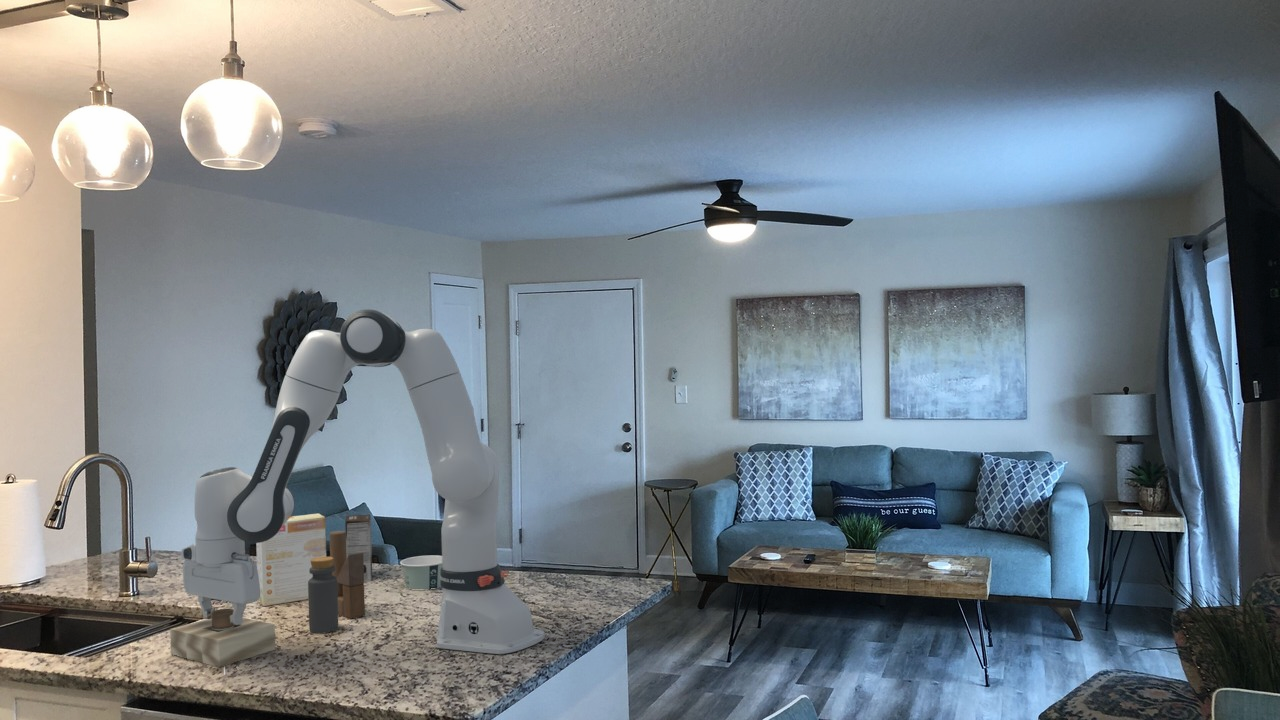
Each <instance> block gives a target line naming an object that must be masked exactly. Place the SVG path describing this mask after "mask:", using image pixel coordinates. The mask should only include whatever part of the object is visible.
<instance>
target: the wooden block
mask: <svg viewBox="0 0 1280 720" xmlns="http://www.w3.org/2000/svg"><path fill="white" fill-rule="evenodd" d="M329 553H330V554H329V557H333V558H334V559H333V565H334V566H335V571H334V572H332V575H333V576H335V577H336V578H337V594H338V615H339V616H342V615H343V616H342V617H345V618H347V619H350V620H352V618H353V619H356V617H357V618H361V616H362V617H365V616H364V615H366V608H365V607H366V604H365V603H366V601H365V585H364V584H365V582H364V561H363V553H357V554H352V555H348V557H347V555H346V532H345V531H344V530H334V531H330V533H329Z"/></svg>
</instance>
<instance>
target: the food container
mask: <svg viewBox="0 0 1280 720" xmlns="http://www.w3.org/2000/svg"><path fill="white" fill-rule="evenodd" d="M399 564H400V565H401V567H402V571H403V572H402V573H403V577H404V581H405V583H404V584H405V586H406V589H407V588H410V589H431V588H437V587H440V588H442V587H441V584H440V569H441V568H442V555H437V554H436V555H418V556H412V557H411V556H410V557H407V558H405V559H402V560H400V562H399ZM437 589H438V588H437Z"/></svg>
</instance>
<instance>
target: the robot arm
mask: <svg viewBox="0 0 1280 720" xmlns="http://www.w3.org/2000/svg"><path fill="white" fill-rule="evenodd" d="M341 325H342V326H341V328H340V332H335V331H332V330H327V329H316V330H312V331H310V332H308V333H307V334H306V335H305V337H304V338H303V339H302V341H301V342H300V344H299V346H298V347H297V349H296V351H295V353H294V355H293V356H292V358H291V361H290V363H289V366H288V367H287V370H286V372H285V375H284V377H283V381H282V384H281V387H280V389H279V394H278V398H277V402H276V407H275V412H274V414H273V415H274V416H273V419H272V425H271V429H270V433H269V436H268V437H267V440H266V443H265V445H264V448H263V450H262V453H261V455H260V457H259V460H258V461H257V465H256V468H255V470H254V472H253V475H249V474H247V473H246V472H244V471H242V470H241V469H240V468H238V467H235V466H231V467H223V468H219V469H215V470H211V471H207V472H206V473H203V474H202V475H201V476H199V478H198V479H197V481H196V484H195V491H194V518H195V521H196V525H197V526H196V527H197V528H196V532H195V535H194V536H195V539H194V540H195V541H194V543H193V544H191V545H187V546H185V547H183V548H182V549H181V553H180V556H181V559H183V560H184V561H183V564H182V579H183V581H182V582H183V588H184V591H185V593H186V594H187V595H192V596H197V597H198V602H199V603H198V604H199V606H200V607H201V610H202V618H203V619H204V620H207V619H212V612H213V611H216V608H213V603H212V600H217V601H223V602H229V603H232V605H231V606H232V607H231V608H232V609H233V610H234V611H233V615H230V623H231V624H233V625H239V624H241V623H242V622H243V618H244V617H243V615H244V613H245V610H246V607H247V605H248V604H252V603H256V602H259V601H258V599H259V597H260V583H259V576H258V570H257V564H255V561H254V560H253V559H252V558H251V556H250V555H249V554H246V549H245V548H246V547H245V546H246V543H245V542H247V543H251V544H256V543H260V542H264V541H267V540H269V539H271V538H272V537H274V536H275V535H276V534H277V533H278V531H279V530H280V528H281V527H282V526H283V525H284V524H285V523H286V522H287V520H288V519H289V518H290V517H292V516H293V513H294V510H295V499H294V496H293V494H292V492H291V490H290V489H289V488H288V487H287V485H288V483H289V480H290V478H291V476H292V472H293V471H294V468H295V465H296V464H297V463H296V462H297V460H298V457H299V455H300V453H301V451H302V450H303V448H304V446H305V445H306V443H307V442H308V441H309V440H310V439H311V438H312V436H313V435H314V434H315V433H316V432H317V431H318V430H319V429H321V427H323V425H324V424H325V423H326V422H327V420H328V418H329V417H330V415H331V414H332V412H333V410H334V408H335V407H336V404H337V403H338V399H339V397H340V395H341V391H342V388H343V386H344V383H345V381H346V379H347V376H348V374H349V373H350V371H351V370H352V369H354V368H355V367H371V368H382V367H383V368H384V367H387V366H390V365H393V366H395V367H396V368H397V369H398V371H399V372H400V374H401V376H402V378H403V381H404V383H405V384H404V385H405V386H406V389H407V393H408V394H409V397H410V400H411V403H412V405H413V408H414V411H415V414H416V417H417V420H418V423H419V425H420V428H421V432H422V436H423V442H424V445H425V450H426V455H427V460H428V463H429V467H430V471H431V480H432V484H433V487H434V490H435V491H436V493H437V494H438V495H439V496H440V497H442V498H443V499H445V500H444V509H443V511H444V512H443V518H442V525H441V529H440V530H441V533H440V534H441V536H440V537H441V556H442V568H441V569H440V584H441V587H440V588H442V592H441V593H442V595H441V602H440V613H439V614H440V615H439V622H438V628H437V632H436V636H435V640H436V644H435V645H436V648H437V649H444V650H454V651H464V652H473V653H481V654H482V653H484V654H495V655H504V654H510V653H515V652H518V651H521V650H525V649H527V648H529V647H532V646H534V645H536V644H539V643H540V642H541V641H543V640H544V639H545V637H546V633H545V630H541V629H537V628H535V627H534V623H533V617H532V616H533V615H532V612H531V609H530V607H529V605H527V604H526V603H525V602H524V601H523V600H522V599H521V598H520V597H518V596H517V595H516V593H514V592H513V591H512V590H511V589H510V588H509V587H508V585H506V584H505V582H506V580H505V578H506V577H508V576H509V574H507V573H509V570H503V571H502V568H501V567H500V564H499V563H498V541H497V539H498V538H497V524H498V521H497V520H498V509H499V508H498V507H499V506H498V505H499V492H500V491H499V489H500V487H499V486H500V484H499V483H500V462H499V458H498V455H497V454H496V453H495V451H494V450H493V448H491V447H490V446H489V445H487V444H485V443H483V442H481V438H480V434H479V430H478V427H477V422H476V418H475V411H474V407H473V404H472V401H471V399H470V395H469V393H468V390H467V387H466V385H465V384H466V383H465V382H464V380H463V377H462V374H461V372H460V369H459V366H458V364H457V361H456V359H455V357H454V355H453V353H452V351H451V349H450V348H449V345H448V344H447V342H446V341H445V339H444V337H443V336H442V334H441V333H440V332H439V331H437V330H435V329H431V328H420V329H419V328H418V329H416V330H412V331H406V330H405V329H404V328H402V326H401V325H400V324H399V323H398V322H397V321H396V320H395V319H394V318H393V317H392V316H390V315H388V314H387V313H385V312H381V311H379V310H375V309H367V308H366V309H361V310H358V311H355V312H353V313H352V314H349V316H348V317H346V319H345V320H344V322H343V323H342V324H341Z"/></svg>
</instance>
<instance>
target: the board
mask: <svg viewBox="0 0 1280 720" xmlns="http://www.w3.org/2000/svg"><path fill="white" fill-rule="evenodd" d="M275 627H276V626H275V624H274V623H270V622H265V621H262V620H256V619H250V618H247V617H243V622H242V623H241V624H239V625H234V628H230V629H227V630H223V631H220V632H217V631H212V619H203V620H199V621H195V622H191V623H188V624H185V625H181V626H178V627H173V628H170V629H169V633H170V634H169V635H170V637H169V638H170V655H171V654H174V655H177V656H176V657H178V656H180V657H179V658H182V657H184V658H183V659H186V658H187V659H186V660H190V661H193V660H194V662H197V661H198V663H201V662H202V664H205V663H206V665H209V666H214V667H217V668H221V667H224V666H228V665H230V664H231V665H232V664H234V662H235V663H237V661H238V662H241V661H244V660H247V659H249V658H253V657H256V656H260V655H262V654H263V655H264V654H266V653H269V652H273V651H275V650H276V628H275ZM268 651H269V652H268ZM174 655H173V656H174ZM243 659H244V660H243ZM240 660H241V661H240Z"/></svg>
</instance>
